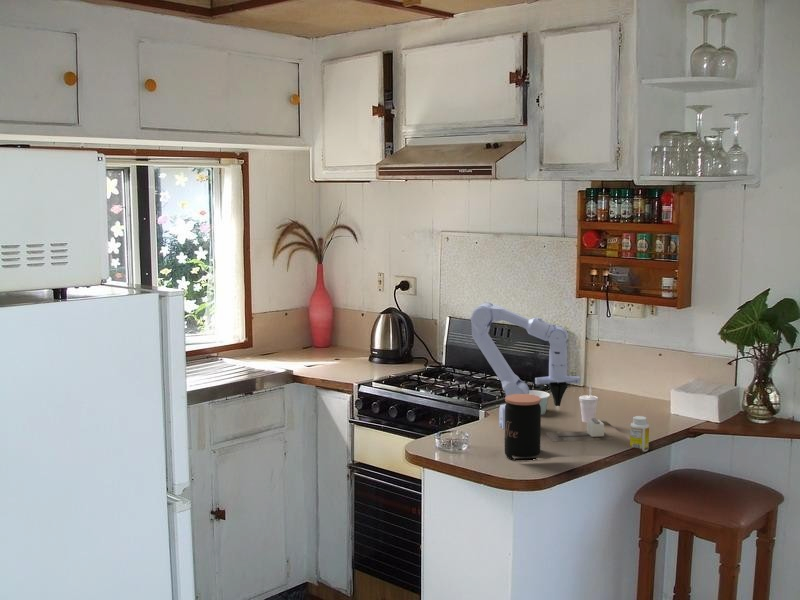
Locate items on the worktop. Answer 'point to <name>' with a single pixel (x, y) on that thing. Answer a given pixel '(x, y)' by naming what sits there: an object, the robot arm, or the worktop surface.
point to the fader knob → (595, 427)
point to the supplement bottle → (639, 433)
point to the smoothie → (588, 406)
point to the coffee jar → (522, 426)
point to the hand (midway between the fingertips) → (557, 405)
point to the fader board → (575, 436)
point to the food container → (544, 399)
